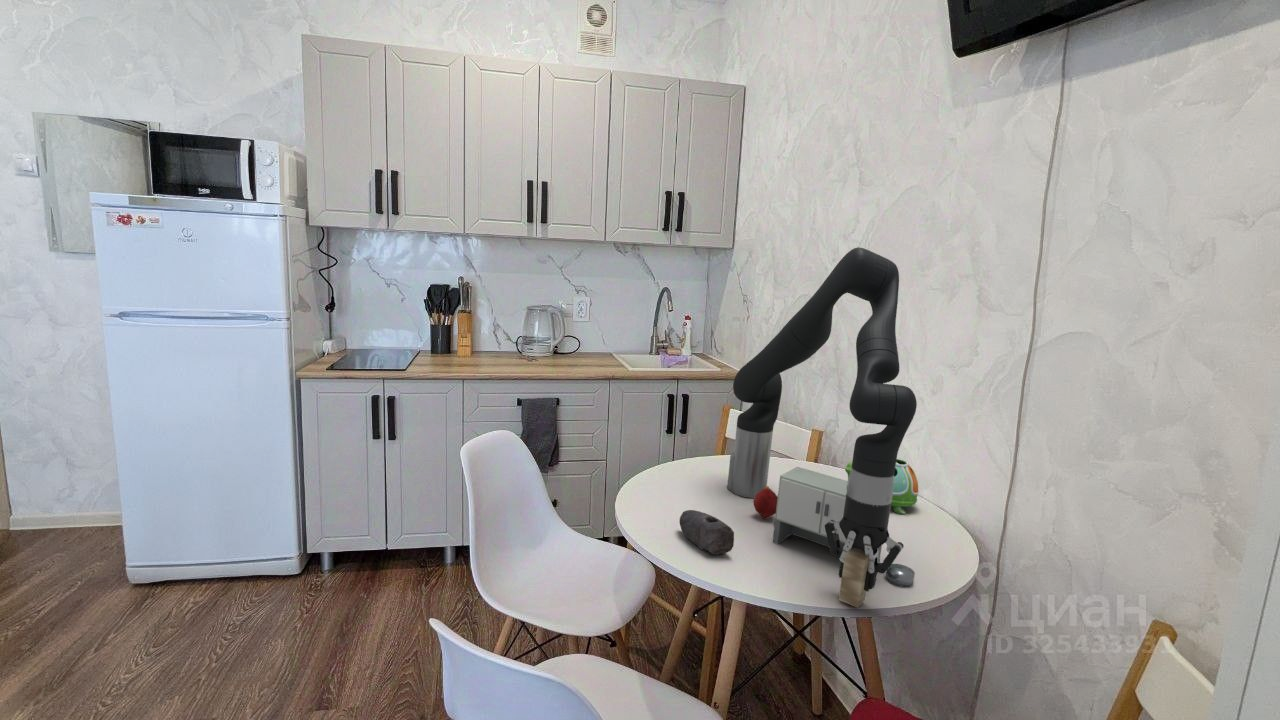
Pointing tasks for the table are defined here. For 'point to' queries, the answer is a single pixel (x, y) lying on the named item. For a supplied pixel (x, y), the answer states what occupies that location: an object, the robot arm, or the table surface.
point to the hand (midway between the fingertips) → (855, 584)
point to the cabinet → (809, 505)
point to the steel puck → (900, 575)
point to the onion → (766, 503)
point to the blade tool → (854, 578)
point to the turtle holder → (901, 485)
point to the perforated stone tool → (707, 532)
